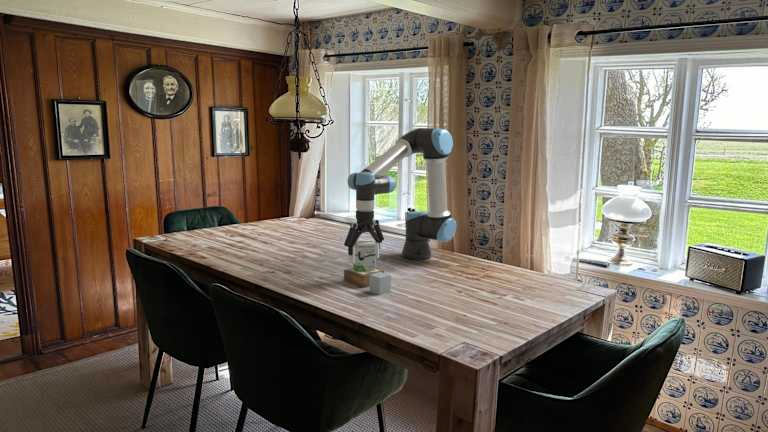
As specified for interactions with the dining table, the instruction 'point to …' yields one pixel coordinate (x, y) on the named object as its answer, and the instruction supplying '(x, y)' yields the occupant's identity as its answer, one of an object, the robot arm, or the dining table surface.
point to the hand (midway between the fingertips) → (364, 260)
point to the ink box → (365, 256)
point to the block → (380, 283)
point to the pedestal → (359, 277)
